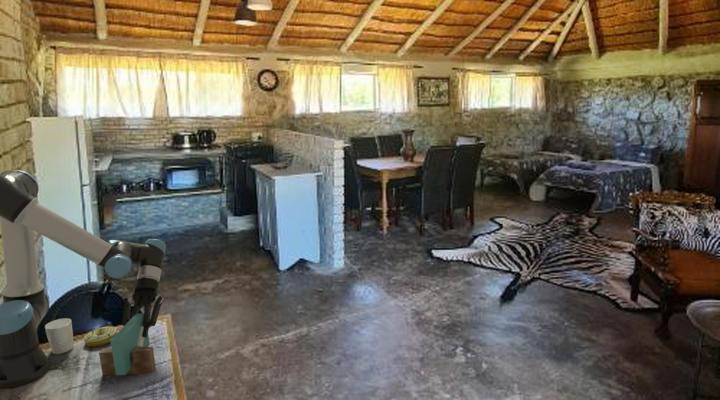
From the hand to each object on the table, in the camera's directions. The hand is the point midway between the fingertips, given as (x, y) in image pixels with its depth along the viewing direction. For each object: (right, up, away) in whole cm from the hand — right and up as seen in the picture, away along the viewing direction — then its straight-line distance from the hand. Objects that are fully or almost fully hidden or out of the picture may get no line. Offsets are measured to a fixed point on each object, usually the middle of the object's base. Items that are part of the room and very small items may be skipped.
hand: (133, 347), depth 153 cm
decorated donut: (-21, -3, +18) cm, 27 cm away
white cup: (-31, -5, +12) cm, 34 cm away
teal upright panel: (0, -4, 0) cm, 4 cm away
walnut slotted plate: (0, -7, -3) cm, 8 cm away
